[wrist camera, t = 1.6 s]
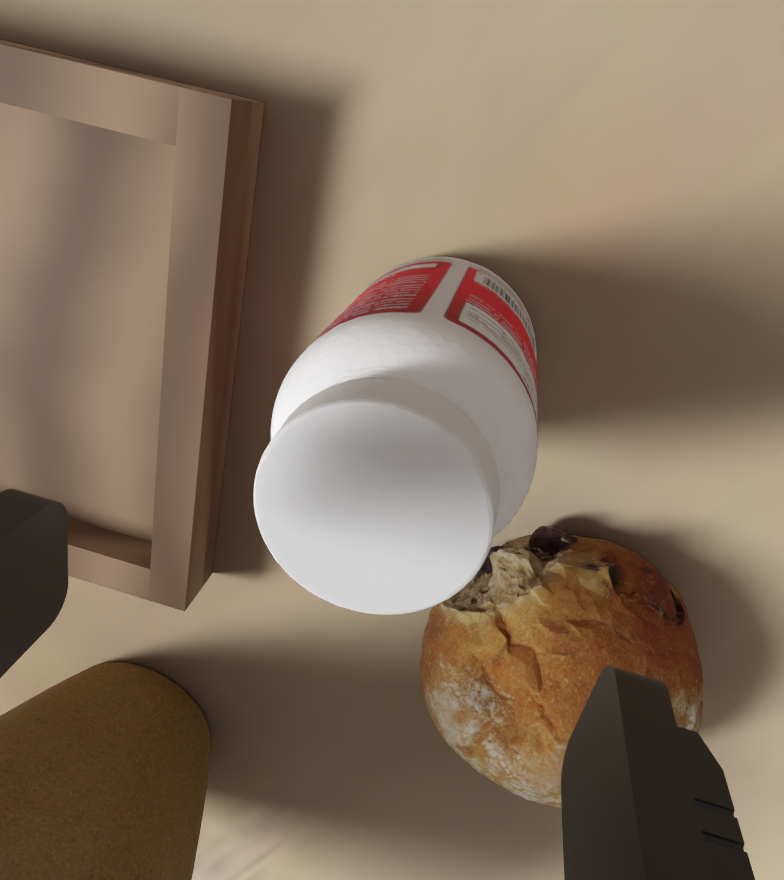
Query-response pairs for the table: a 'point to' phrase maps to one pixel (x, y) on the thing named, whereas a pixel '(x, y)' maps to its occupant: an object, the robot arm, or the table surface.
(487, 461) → the pill bottle
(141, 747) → the plant pot
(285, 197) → the table surface
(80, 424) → the shallow rectangular tray
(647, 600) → the bread roll
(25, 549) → the robot arm
